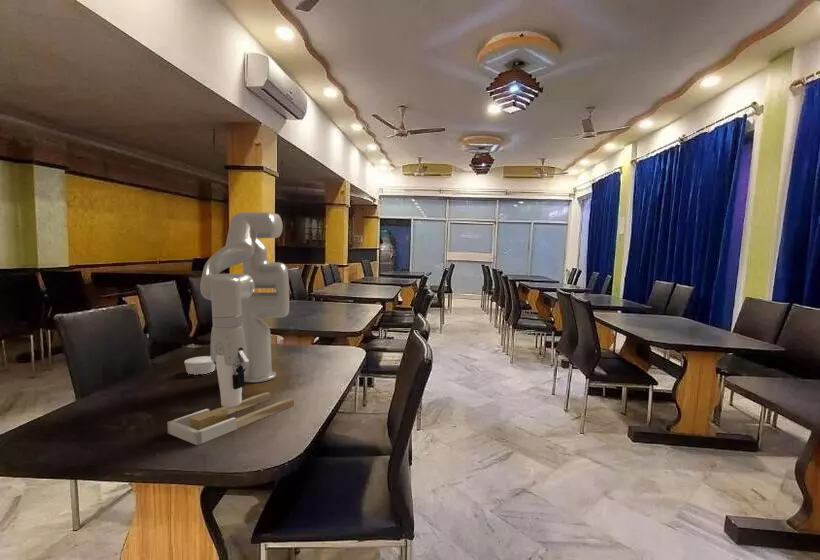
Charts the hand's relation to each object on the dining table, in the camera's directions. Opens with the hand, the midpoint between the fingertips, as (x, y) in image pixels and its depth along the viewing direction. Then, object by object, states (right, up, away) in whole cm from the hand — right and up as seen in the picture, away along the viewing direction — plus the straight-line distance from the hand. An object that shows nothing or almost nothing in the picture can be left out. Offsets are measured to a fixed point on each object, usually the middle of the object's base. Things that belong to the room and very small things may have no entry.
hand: (230, 384), depth 120 cm
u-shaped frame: (-4, -10, -7) cm, 13 cm away
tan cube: (-5, -11, -7) cm, 14 cm away
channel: (+4, -9, +6) cm, 12 cm away
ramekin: (-31, -7, +47) cm, 57 cm away
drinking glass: (0, -6, +1) cm, 6 cm away
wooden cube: (-2, -10, -4) cm, 11 cm away
